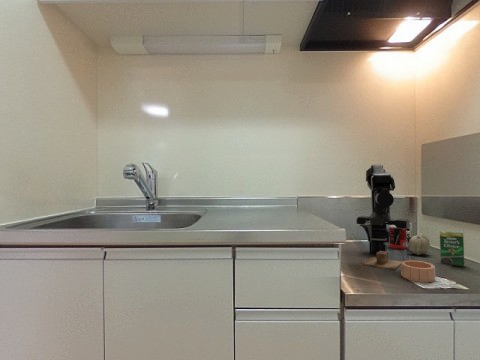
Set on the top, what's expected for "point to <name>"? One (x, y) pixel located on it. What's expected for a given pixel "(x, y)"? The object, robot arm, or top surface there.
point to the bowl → (418, 271)
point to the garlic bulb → (419, 244)
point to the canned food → (401, 239)
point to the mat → (383, 269)
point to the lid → (382, 262)
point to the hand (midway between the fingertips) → (382, 243)
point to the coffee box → (452, 248)
